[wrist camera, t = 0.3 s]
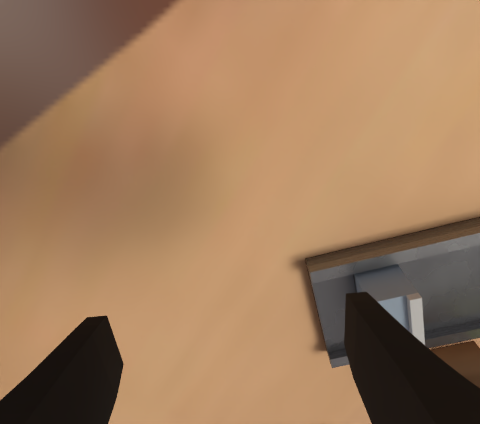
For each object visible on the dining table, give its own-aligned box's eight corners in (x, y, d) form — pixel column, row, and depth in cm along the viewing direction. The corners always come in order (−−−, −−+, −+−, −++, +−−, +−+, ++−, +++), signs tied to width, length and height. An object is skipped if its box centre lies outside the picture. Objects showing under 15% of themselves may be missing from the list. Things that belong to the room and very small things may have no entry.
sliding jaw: (404, 335, 23) (426, 375, 20) (365, 343, 23) (382, 383, 21) (397, 263, 21) (421, 297, 18) (353, 273, 21) (371, 308, 18)
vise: (585, 296, 23) (638, 336, 20) (327, 351, 25) (339, 395, 22) (606, 187, 20) (674, 214, 17) (305, 258, 22) (317, 295, 19)
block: (472, 378, 27) (521, 447, 22) (418, 389, 27) (455, 459, 23) (473, 340, 25) (526, 407, 20) (415, 352, 25) (454, 420, 21)
